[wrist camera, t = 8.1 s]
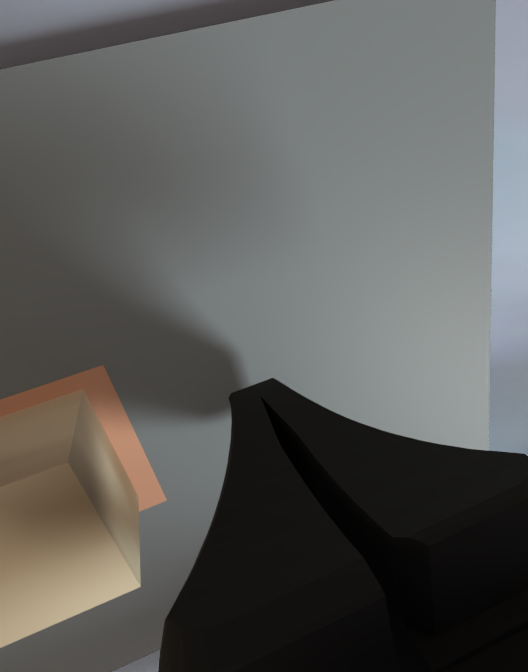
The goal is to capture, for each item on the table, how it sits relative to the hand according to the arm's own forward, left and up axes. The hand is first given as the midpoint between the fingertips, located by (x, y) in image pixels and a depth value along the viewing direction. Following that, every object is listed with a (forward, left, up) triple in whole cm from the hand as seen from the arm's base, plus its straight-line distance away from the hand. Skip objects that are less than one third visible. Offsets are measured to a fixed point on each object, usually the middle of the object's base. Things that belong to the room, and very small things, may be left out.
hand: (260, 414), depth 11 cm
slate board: (0, +4, -2) cm, 5 cm away
